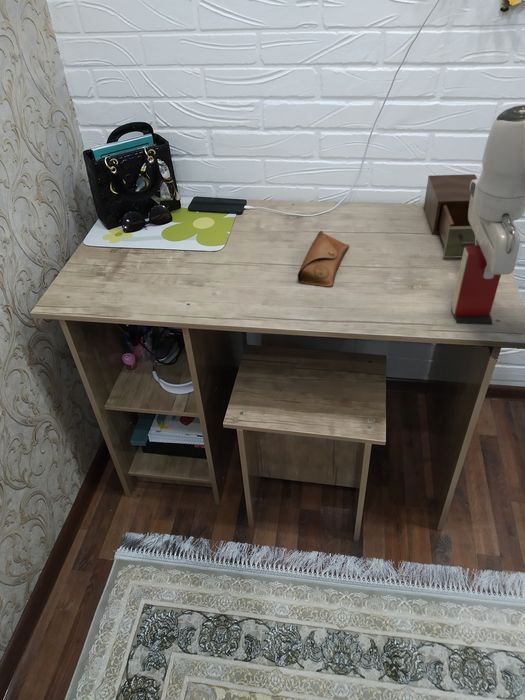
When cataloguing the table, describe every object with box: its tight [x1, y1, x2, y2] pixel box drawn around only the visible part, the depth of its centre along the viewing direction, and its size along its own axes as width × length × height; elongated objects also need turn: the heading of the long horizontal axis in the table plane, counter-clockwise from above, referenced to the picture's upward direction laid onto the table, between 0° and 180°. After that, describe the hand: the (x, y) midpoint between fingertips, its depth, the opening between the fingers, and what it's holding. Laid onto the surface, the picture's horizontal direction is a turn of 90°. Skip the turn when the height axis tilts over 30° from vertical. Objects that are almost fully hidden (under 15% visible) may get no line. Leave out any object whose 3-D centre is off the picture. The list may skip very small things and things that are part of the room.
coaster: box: [454, 315, 493, 325], centre depth 118 cm, size 7×7×1 cm
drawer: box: [438, 204, 475, 258], centre depth 133 cm, size 17×10×7 cm, turn 177°
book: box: [451, 246, 502, 317], centre depth 113 cm, size 7×3×15 cm, turn 88°
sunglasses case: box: [297, 230, 350, 287], centre depth 133 cm, size 18×7×7 cm
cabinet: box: [423, 174, 478, 236], centre depth 143 cm, size 14×12×9 cm
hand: (483, 266), depth 111 cm, fingers open, 5 cm apart
